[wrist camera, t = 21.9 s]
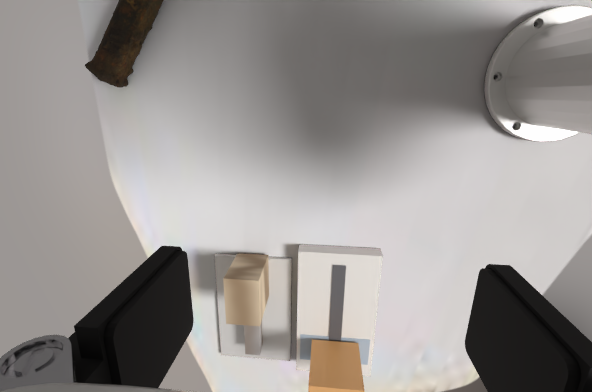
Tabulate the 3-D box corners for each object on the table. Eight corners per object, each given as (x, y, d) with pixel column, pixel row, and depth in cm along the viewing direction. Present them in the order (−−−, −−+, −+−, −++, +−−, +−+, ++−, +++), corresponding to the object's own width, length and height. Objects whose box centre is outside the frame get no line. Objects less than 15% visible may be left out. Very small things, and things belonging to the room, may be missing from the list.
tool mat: (291, 257, 42) (291, 259, 41) (290, 358, 47) (290, 360, 46) (215, 253, 43) (214, 255, 42) (222, 352, 48) (221, 355, 47)
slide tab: (358, 343, 42) (364, 390, 35) (356, 361, 43) (362, 411, 36) (311, 339, 42) (308, 385, 36) (311, 357, 43) (308, 406, 37)
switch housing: (380, 248, 40) (383, 256, 38) (368, 364, 46) (370, 377, 44) (299, 244, 41) (298, 251, 39) (297, 358, 47) (296, 370, 45)
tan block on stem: (268, 255, 42) (258, 280, 36) (269, 345, 46) (261, 380, 40) (237, 253, 42) (223, 278, 36) (241, 342, 46) (229, 377, 40)
